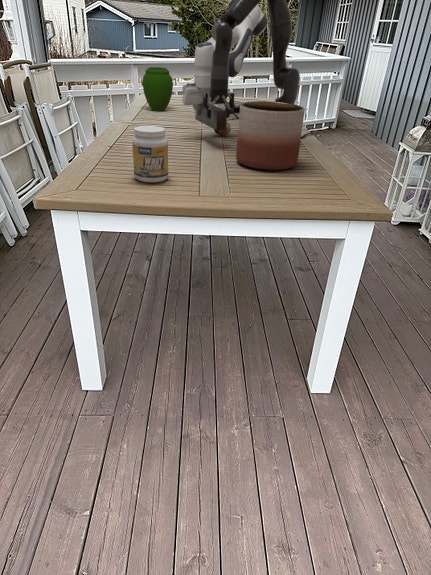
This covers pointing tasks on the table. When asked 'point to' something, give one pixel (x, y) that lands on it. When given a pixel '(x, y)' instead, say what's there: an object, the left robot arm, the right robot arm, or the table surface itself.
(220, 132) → the seashell
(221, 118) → the bar
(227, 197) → the table surface
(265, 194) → the table surface
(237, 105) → the sign
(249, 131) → the planter
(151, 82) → the vase
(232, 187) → the table surface
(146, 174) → the supplement tub
